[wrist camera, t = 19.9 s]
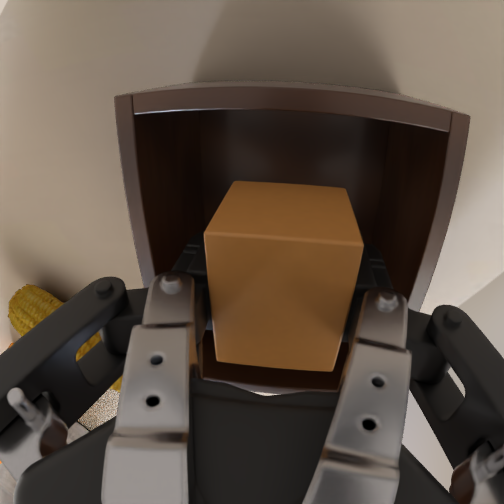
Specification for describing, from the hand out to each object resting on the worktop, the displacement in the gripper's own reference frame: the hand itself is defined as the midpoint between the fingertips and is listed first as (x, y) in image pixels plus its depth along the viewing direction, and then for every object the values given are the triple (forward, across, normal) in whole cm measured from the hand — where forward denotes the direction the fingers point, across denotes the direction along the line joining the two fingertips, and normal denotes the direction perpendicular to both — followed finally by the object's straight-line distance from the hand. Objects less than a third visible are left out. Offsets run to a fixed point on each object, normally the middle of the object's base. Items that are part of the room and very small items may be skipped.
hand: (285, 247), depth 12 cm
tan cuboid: (0, 0, 0) cm, 0 cm away
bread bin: (+9, 0, +2) cm, 9 cm away
